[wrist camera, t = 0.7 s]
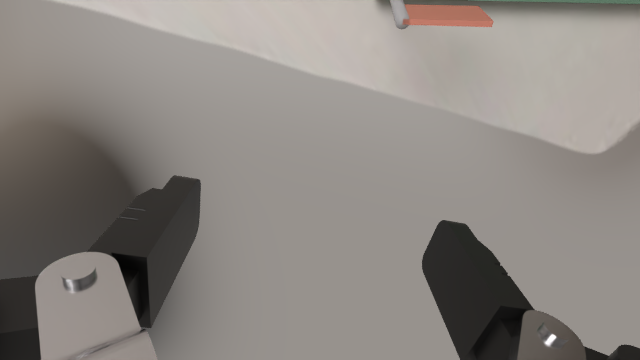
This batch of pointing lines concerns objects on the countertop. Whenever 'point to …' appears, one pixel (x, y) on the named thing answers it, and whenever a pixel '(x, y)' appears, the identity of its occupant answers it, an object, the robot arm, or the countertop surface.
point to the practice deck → (460, 13)
